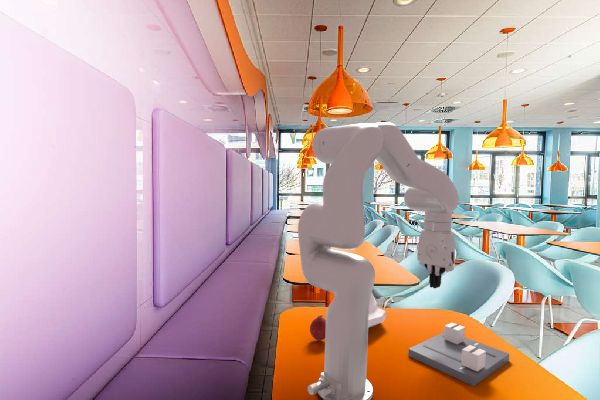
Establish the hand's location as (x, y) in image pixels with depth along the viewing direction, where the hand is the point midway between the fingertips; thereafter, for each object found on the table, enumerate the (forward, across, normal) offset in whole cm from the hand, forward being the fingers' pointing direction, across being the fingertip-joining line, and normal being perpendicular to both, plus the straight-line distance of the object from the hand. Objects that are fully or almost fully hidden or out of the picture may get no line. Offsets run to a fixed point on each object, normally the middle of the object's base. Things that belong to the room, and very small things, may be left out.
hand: (434, 286), depth 110 cm
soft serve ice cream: (+16, -18, -10) cm, 26 cm away
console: (+16, +11, -6) cm, 20 cm away
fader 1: (+14, +7, 0) cm, 15 cm away
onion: (+16, -19, -30) cm, 39 cm away
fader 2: (+14, +17, -10) cm, 24 cm away
